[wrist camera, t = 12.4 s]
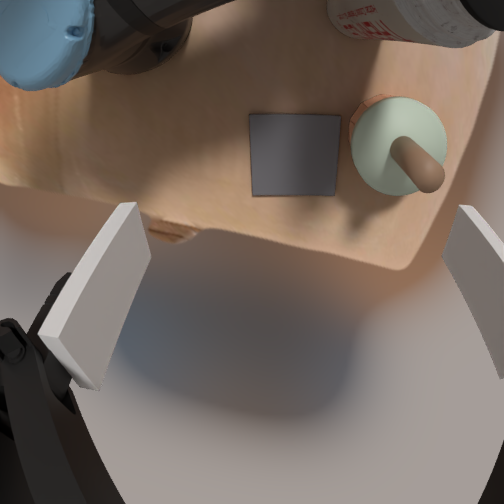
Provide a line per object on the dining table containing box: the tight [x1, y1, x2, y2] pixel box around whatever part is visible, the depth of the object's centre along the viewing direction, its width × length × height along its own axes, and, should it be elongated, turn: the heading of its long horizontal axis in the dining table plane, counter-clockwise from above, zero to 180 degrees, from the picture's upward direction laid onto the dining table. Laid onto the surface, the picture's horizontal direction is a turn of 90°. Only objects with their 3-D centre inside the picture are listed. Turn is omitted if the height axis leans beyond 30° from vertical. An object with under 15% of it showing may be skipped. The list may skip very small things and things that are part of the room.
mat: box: [249, 114, 341, 196], centre depth 42 cm, size 12×12×1 cm
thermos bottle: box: [327, 0, 504, 48], centre depth 18 cm, size 8×8×28 cm
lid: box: [351, 96, 447, 196], centre depth 32 cm, size 13×13×10 cm
